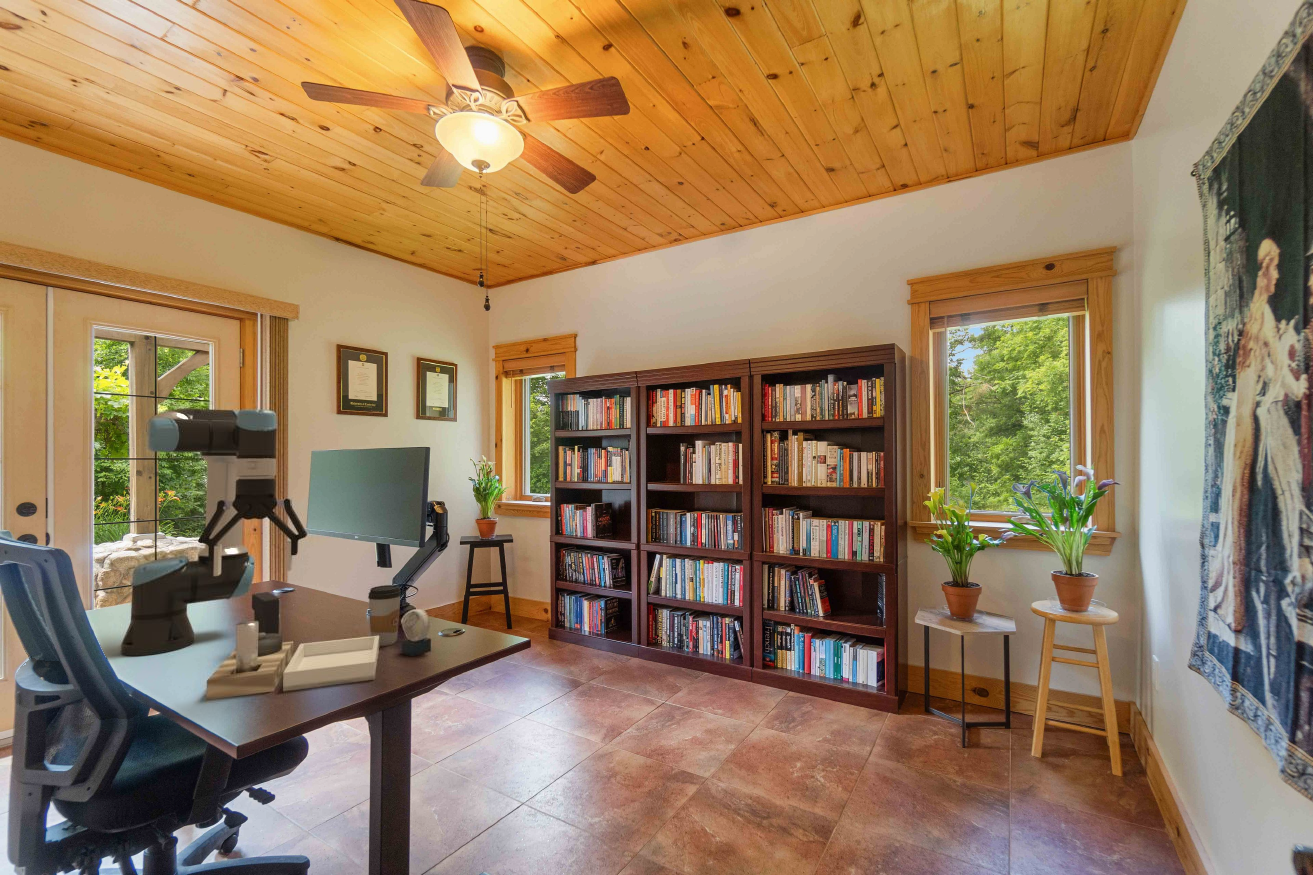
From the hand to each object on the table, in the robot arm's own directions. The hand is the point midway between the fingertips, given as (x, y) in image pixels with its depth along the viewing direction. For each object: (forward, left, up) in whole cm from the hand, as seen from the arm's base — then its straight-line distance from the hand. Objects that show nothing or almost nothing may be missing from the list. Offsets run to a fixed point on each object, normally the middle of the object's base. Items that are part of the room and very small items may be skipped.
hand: (254, 572), depth 133 cm
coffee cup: (-22, +26, -25) cm, 43 cm away
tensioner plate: (-6, -1, -25) cm, 26 cm away
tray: (-4, +16, -25) cm, 30 cm away
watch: (-10, +34, -25) cm, 44 cm away
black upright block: (-24, -2, -25) cm, 35 cm away
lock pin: (+1, -1, -25) cm, 25 cm away
